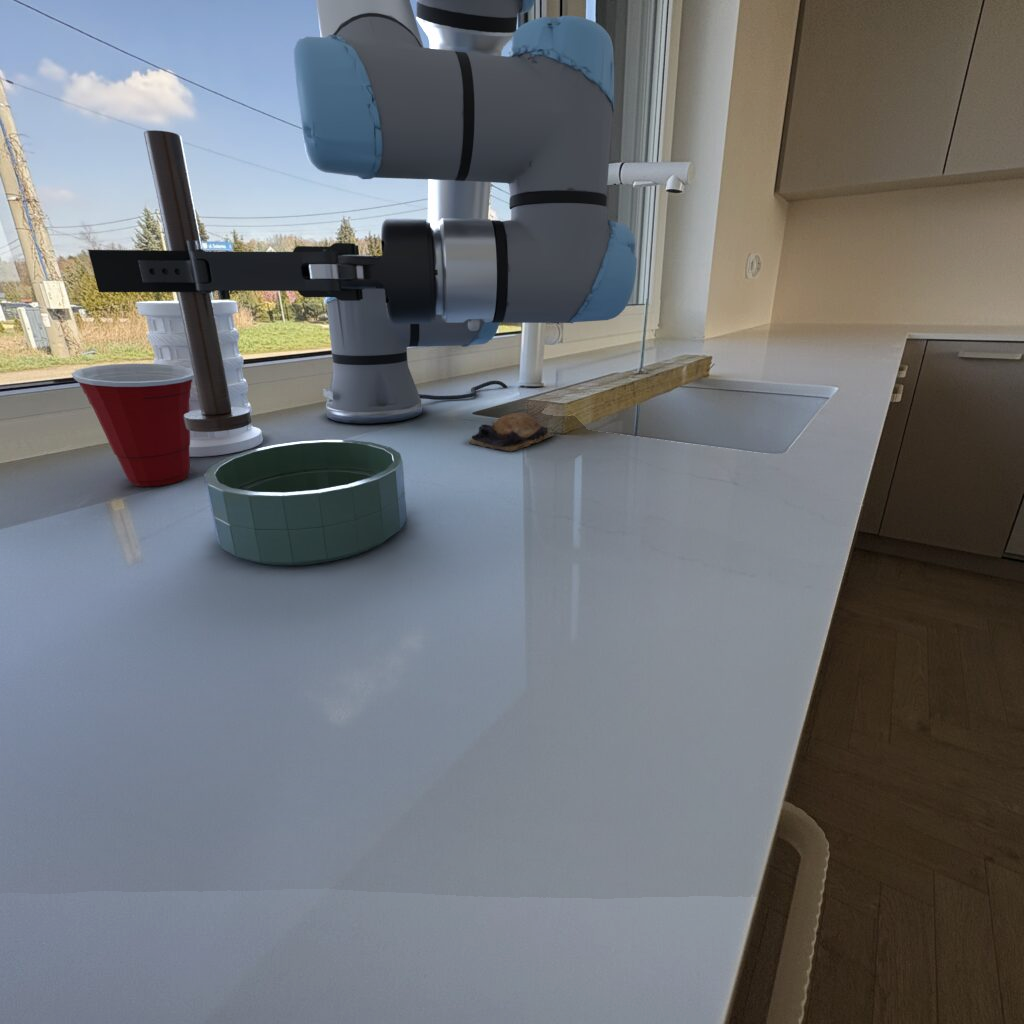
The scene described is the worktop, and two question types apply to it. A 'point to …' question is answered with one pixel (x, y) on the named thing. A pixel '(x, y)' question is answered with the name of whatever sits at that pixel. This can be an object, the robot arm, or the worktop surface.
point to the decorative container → (174, 351)
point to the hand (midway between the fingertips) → (107, 271)
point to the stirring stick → (193, 305)
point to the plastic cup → (143, 417)
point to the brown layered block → (511, 432)
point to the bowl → (307, 501)
